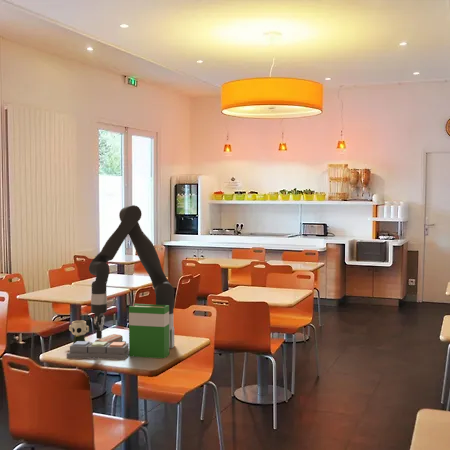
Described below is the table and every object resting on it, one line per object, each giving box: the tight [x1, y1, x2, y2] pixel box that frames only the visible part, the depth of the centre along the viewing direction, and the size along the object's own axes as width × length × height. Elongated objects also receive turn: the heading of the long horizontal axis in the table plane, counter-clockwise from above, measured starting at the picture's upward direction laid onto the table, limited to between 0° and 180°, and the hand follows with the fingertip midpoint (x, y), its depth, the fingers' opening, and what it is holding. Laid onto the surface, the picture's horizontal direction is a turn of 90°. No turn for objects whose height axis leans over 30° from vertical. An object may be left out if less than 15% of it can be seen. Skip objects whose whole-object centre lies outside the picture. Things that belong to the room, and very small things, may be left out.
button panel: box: [66, 341, 129, 360], centre depth 283 cm, size 28×12×5 cm, turn 85°
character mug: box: [68, 320, 90, 344], centre depth 298 cm, size 11×7×13 cm, turn 75°
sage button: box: [91, 341, 107, 347], centre depth 283 cm, size 6×6×2 cm
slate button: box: [72, 340, 90, 346], centre depth 284 cm, size 6×6×2 cm
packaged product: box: [94, 333, 127, 344], centre depth 302 cm, size 18×5×10 cm
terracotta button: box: [110, 342, 125, 347], centre depth 282 cm, size 6×6×2 cm
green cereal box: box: [128, 303, 170, 359], centre depth 282 cm, size 18×7×24 cm, turn 77°
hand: (99, 338), depth 283 cm, fingers closed
